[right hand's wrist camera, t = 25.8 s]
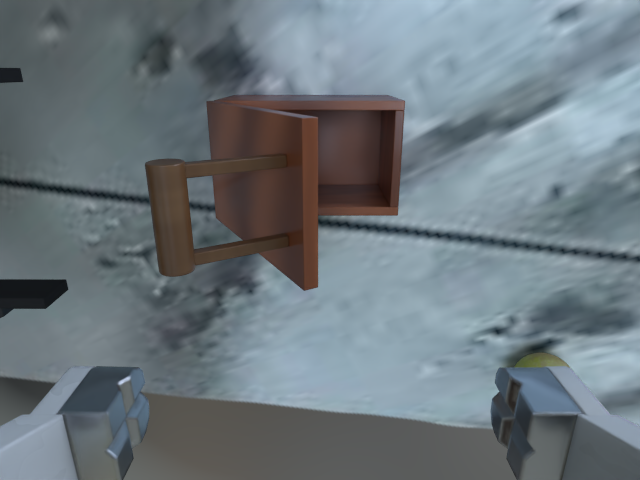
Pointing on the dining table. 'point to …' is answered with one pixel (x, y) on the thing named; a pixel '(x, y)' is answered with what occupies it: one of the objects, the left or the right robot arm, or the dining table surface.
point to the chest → (349, 148)
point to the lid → (245, 193)
